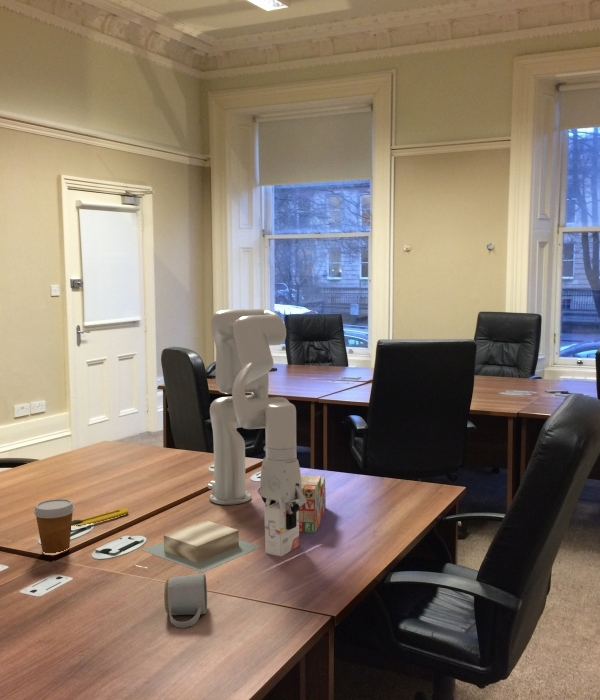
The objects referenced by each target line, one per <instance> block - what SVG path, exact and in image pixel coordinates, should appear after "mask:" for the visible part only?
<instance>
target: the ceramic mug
mask: <svg viewBox="0 0 600 700" xmlns="http://www.w3.org/2000/svg"><path fill="white" fill-rule="evenodd" d="M206 577H207V576H206V574H205V573H204V572H203V573H202V572H201V573H197V574H189V575H180V576H173V577H170V578H167V579H166V580H165V583H164V589H163V590H164V594H163V596H164V597H163V598H164V599H163V600H164V609H165V610H164V611H165V613H166V614H168V615H169V620H170V623H171V624H172V625H173V626H174V625H175V626H174V627H176V626H178V627H177V628H179V627H187V628H189V626H190V627H192V626H194V625H195V624H196V623H197V622H198V621H199V618H200V615H206V614H207V611H208V591H207V590H208V587H207V586H208V585H207V578H206ZM184 615H186V616H189V615H191V616H192V615H193V616H192V618H190V619H189V620H186V621H178V620H176V619H174V617H173V616H184Z"/></svg>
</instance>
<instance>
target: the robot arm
mask: <svg viewBox="0 0 600 700" xmlns="http://www.w3.org/2000/svg"><path fill="white" fill-rule="evenodd" d="M210 318H211V319H210V330H211V335H212V339H213V342H214V344H215V386H216V390H218V392H219V393H222V394H226V395H229V394H230V395H232V396H222V397H219V398H216V399H214V400H213V401H212V402H211V403H210V407H209V416H210V421H211V428H212V437H213V438H212V440H213V472H214V473H213V474H214V475H213V478H214V480H211V481H210V483H208V484H207V488H208V489H210V490H212V491H211V492H212V493H211V494H210V495H209V501H210V502H212V503H213V504H217V505H238V504H244V503H246V502H248V501H250V500H251V497H252V494H251V493H250V492H249V491H248V490H246V487H247V486H246V484H247V483H246V482H247V481H246V443H245V442H246V441H245V440H244V437H243V436H242V435H241V434H240V432H239V431H238V430H237V429H239V428H242V429H245V430H256V429H265V445H264V446H263V451H264V452H265V456H264V457H263V459H262V463H261V470H260V479H259V481H260V482H259V486H260V487H259V488H258V489H257V493H258V495H259V497H261V499H262V501H263V503H264V504H265V505H264V508H265V507H267V506H270V505H272V504H274V503H276V502H279V498H280V497H282V502H283V503H286V506H287V510H288V513H287V514H286V529H287V530H290V529H292V528H295V527H296V523H297V517H296V512H298V511H299V509H300V508H301V507H302V506H303V505H304V504H305V503H306V502H307V500H306V498H305V497H304V495H303V493H302V492H301V491H302V487H301V475H302V473H301V467H300V464H299V459H297V409H296V408H297V407H296V405H295V404H293V403H291V402H290V401H289V400H288V399H287V398H286V397H282V396H281V397H280V396H277V397H269V386H270V385H269V383H270V382H269V372H270V371H271V370H272V369H273V367H274V358H273V355H272V352H271V348H270V346H280V345H283V343H284V342H285V341H286V338H287V328H286V324H285V322H284V320H283V318H282V317H281V316H280V315H279V314H277V313H275V312H273V311H272V310H269V309H265V308H263V309H261V308H254V309H253V308H252V309H251V308H250V309H244V308H241V309H222V310H218V311H216V312H214V313H213V314H212V316H211V317H210ZM248 393H250V394H249V395H248ZM246 394H247V395H246ZM296 499H298V502H297V500H296ZM291 503H292V505H293V507H292V505H291Z"/></svg>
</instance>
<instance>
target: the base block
mask: <svg viewBox="0 0 600 700" xmlns="http://www.w3.org/2000/svg"><path fill="white" fill-rule="evenodd" d="M239 533H240V530H239V529H236V528H232V527H229V526H227V525H222V524H220V523H216V522H213V521H209V520H207V519H206V520H202V521H200V522H196V523H195V524H191V525H188V526H185V527H182V528H180V529H177V530H174V531H172V532H168V533H166V534H163V542H164V551H165V552H168V553H171V554H174V555H177V556H179V557H182V558H185V559H188V560H191V561H193V562H196V563H198V562H201V561H203V560H206V559H208V558H210V557H213V556H215V555H218V554H220V553H222V552H225V551H227V550H230V549H232V548H234V547H237V546H239V540H240V537H239V536H240V534H239Z"/></svg>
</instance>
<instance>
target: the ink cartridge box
mask: <svg viewBox="0 0 600 700" xmlns="http://www.w3.org/2000/svg"><path fill="white" fill-rule="evenodd" d="M296 500H297V502H298V499H296ZM291 505H292V503H291ZM292 507H293V505H292ZM263 510H264V511H263V512H264V542H265V544H264V549H265V554H268V555H272V556H278V557H283V556H285V555H286V554H288V553H289V552H291V551H293V550H294V549H296V548H297V547H299V546H300V532H299V511H298V512H296V517H297V523H296V527H295V528H292V529H290V530H287V529H286V514H287V513H288V510H287V506H286V503H283V502H282V497H280V498H279V502H278V501H277V502H276V503H274V504H272V505H270V506H267V507H265V506H264V507H263Z"/></svg>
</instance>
